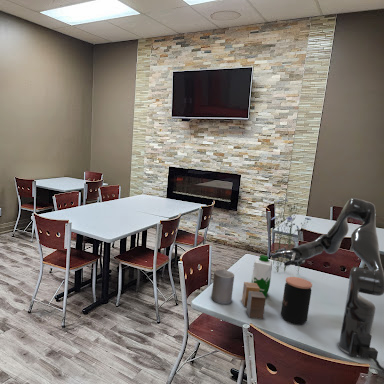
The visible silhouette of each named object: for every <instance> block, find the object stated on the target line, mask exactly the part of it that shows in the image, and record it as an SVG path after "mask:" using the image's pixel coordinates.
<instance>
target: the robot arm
mask: <svg viewBox="0 0 384 384" xmlns="http://www.w3.org/2000/svg"><path fill="white" fill-rule="evenodd" d="M376 213H377V212H376V206H375V204H374V203H372V202H370V201H366V200H364V199H361V198H357V197H351V198H349V199H348V200H347V202H346V203H345V204H344V206H343V208H342V209H341V212H340V213H339V215H338V217H337V219H336V221H335V223H334V224H333V225H332V227H331V228H330V229H329V231H327V233H323V234H321V235H320V236H319V237H318V238H316V239H314V240H313V241H310V242H307V243H302V245H301V244H300V245H297V246H294V247H292V248H291V249H290V250H289V249H288V250H289V251H288V250H287V247H285V248H283V247H282V248H280V249H279V248H278V249H275V251H276V253H275V252H274V253H272V254H271V259H272V260H276V259H278V257H279V258H281V257H282V259H286V258H287V260H288V261H286V260H285V261H283V262H284V263H283V267H285V266H286V267H290V266H295V267H298V266H299V265H300V266H301V265H303V264H305V263H306V260H308V259H311V258H313V257H315V256H318V255H321V254H323V252H325V253H326V254H329V255H333V254H335V253H337V252H338V251H339V249H340V247H341V243H342V241H343V239H345V237H346V236H348V233H349V228H350V227H349V223H348V218H351V219H354V220H357V221H361V223H362V224H361V225H360V226H358V227H357V228H356V229H354V230H353V231H352V233H351V236H350V241H351V242H350V243H351V249H352V251H353V253H354V254H355V255H356V257H358V259H360V260H361V261H362V262H363V263H364V264H365V265H366V267H367V268H365V267H359V266H353V267H351V269H350V272H349V277H348V278H349V279H348V288H347V294H346V302H345V307H344V312H343V317H342V324H341V329H340V334H339V335H340V336H339V342H338V345H337V346H338V349H339V350H341V351H342V352H343V353H345V354H346V355H348V356H349V357H350V358H351V357H352V358H360V359H367V360H369V359H370V360H372V361H374V363H375V365H376V366H377V367H378V368H379V369H380V370H381V371H382V372H384V368H383V367H382V365H381V364H380V363H379V361H378V359H377V358H378V354H379V351H378V350H377V349H376V348H375V347H371V343H372V338H373V336H372V330H373V324H374V320H375V316H376V315H375V314H376V305H375V304H374V303H373V302H372V301H370V300H368V299H366V298H365V297H363V296H361V295H360V294H359V293H361V294H365V295H370V296H375V297H379V296H380V297H381V296H383V295H384V268H383V265H382V261H381V255H380V254H381V253H380V245H379V238H378V233H377V226H376V222H377V221H376V218H377V217H376ZM275 258H276V259H275ZM300 266H299V267H300Z"/></svg>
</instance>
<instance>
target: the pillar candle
mask: <svg viewBox="0 0 384 384" xmlns="http://www.w3.org/2000/svg"><path fill="white" fill-rule="evenodd" d="M234 282H235V273H234V272H232V271H229V270H226V269H216V270H214V272H213V281H212V289H211V300H212V301H213V302H215V303H217V304H221V305H229V304H231V303H232V298H233V291H234Z"/></svg>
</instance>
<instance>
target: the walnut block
mask: <svg viewBox="0 0 384 384" xmlns="http://www.w3.org/2000/svg"><path fill="white" fill-rule="evenodd" d="M266 299H267V297H266V298H265V296H264V294H263V293H262V292H255V291H249V293H248V301H247V307H246V314H247V315H248V318H251V319H258V320H259V319H260V320H264V315H265V308H266Z"/></svg>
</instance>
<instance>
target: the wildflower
mask: <svg viewBox="0 0 384 384" xmlns="http://www.w3.org/2000/svg"><path fill="white" fill-rule="evenodd" d="M280 201H281V199H279V200H277V201H276V203H277V204H278V209H279V212H280V213H278V217H279V219H280V220H276V216H274V217H272V218H271V219H270V220H271V221H273V220H275V225H276V226H277V231H276V235H277V236H276V238H275V239H276V242H278V244H275V248H277V246H278V248H277V249H278V250H279V249H282V248H286V250H287V251H289V250H291V249H290V248H291V245H292V240H291V239H292V238H293V237H294V234H296V233H297V232H299V230H300V229H299V225H297V224H296V223H293V222H294V221H295V220H296V216H297V215H298V214H299V213H300V211H301V210H302V209H303V207H304V206H303V205H301V206H299V208H300V209H297V210H296V206H298V205H299V202H297V203H293V205H292V203H289V204H287V203H288V202H289V200H288V199H287V198H285V200H284V199H283V200H282V202H281V203H280ZM284 201H285V202H284ZM283 202H284V205H283ZM286 204H287V205H286ZM285 206H287V207H288V208H289V209H288V212H289V216H287V217H286V219H285V216H283V220H282V216H281V215H282V214H283V210H284V209H285ZM281 207H282V208H281ZM292 215H293V216H292ZM304 219H305V220H304V221H303V222H300V225H301V227H302V230H301V233H302V235H301V241H300V242H301V243H300V245H302V244H303V236H304V233H305V232H304V231H305V230H306V228H307V226H306V225H304V224H308V223H309V221H312V219H311V218H310V217H305V218H304ZM306 220H307V221H306ZM282 223H283V224H282ZM280 224H281V227H280ZM295 225H296V226H295ZM293 226H295V227H296V228H295V229H294V233H292V232H293V231H292V230H293ZM280 228H281V229H280ZM286 228H287V230H286ZM280 230H281V231H280ZM283 231H284V233H286V232H287V233H286V238H285V235H281V234H282V233H283ZM280 235H281V236H280ZM282 237H283V239H284V241H282V243H284V244H281V240H280V239H281V238H282ZM287 244H288V246H287V247H286V245H287ZM274 251H275V252H274V254H275V253H276V250H274ZM288 260H289V259H287V258H285V261H288ZM285 261H284V259H283V258H282V257H278V258H275V259H272V266H274V264H275V263H276V265H275V270H276V272H277V273H278V272H279V268H280V267H282V264H284V262H285ZM300 266H301V265H299V266H297V270H296V271H297V274H299V272H300V270H299V269H300ZM286 269H287V266H283V271H284V272H286Z"/></svg>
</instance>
